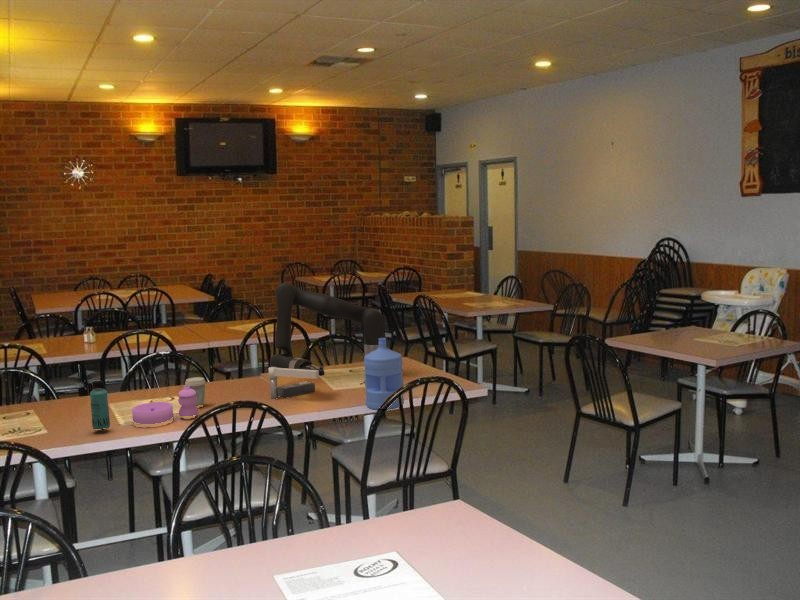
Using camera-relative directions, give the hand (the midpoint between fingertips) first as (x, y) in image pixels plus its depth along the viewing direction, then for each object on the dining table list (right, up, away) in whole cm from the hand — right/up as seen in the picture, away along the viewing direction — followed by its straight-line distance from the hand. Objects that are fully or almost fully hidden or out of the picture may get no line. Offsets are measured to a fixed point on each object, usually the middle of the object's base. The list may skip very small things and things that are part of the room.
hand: (322, 373), depth 334 cm
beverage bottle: (-81, -20, -32) cm, 89 cm away
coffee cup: (-53, -14, 0) cm, 55 cm away
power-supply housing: (-13, -11, +15) cm, 23 cm away
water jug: (+27, -13, -9) cm, 31 cm away
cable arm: (-13, -3, +3) cm, 13 cm away
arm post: (-22, -12, +8) cm, 26 cm away
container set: (-60, -17, -19) cm, 66 cm away
